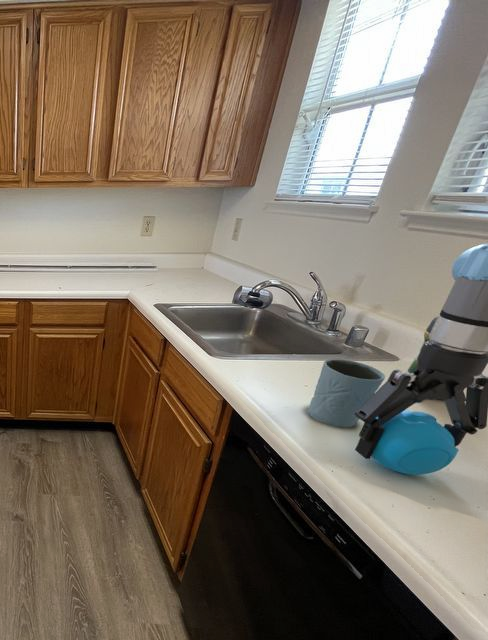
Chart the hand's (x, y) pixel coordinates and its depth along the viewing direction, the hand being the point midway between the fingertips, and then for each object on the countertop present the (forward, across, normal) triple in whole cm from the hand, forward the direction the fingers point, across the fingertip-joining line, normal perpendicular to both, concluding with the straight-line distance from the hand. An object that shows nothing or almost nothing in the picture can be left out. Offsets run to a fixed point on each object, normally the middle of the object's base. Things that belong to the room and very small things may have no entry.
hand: (399, 456), depth 75 cm
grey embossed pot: (+3, 0, -17) cm, 17 cm away
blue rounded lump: (+3, 0, 0) cm, 3 cm away
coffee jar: (+3, -31, -33) cm, 45 cm away
